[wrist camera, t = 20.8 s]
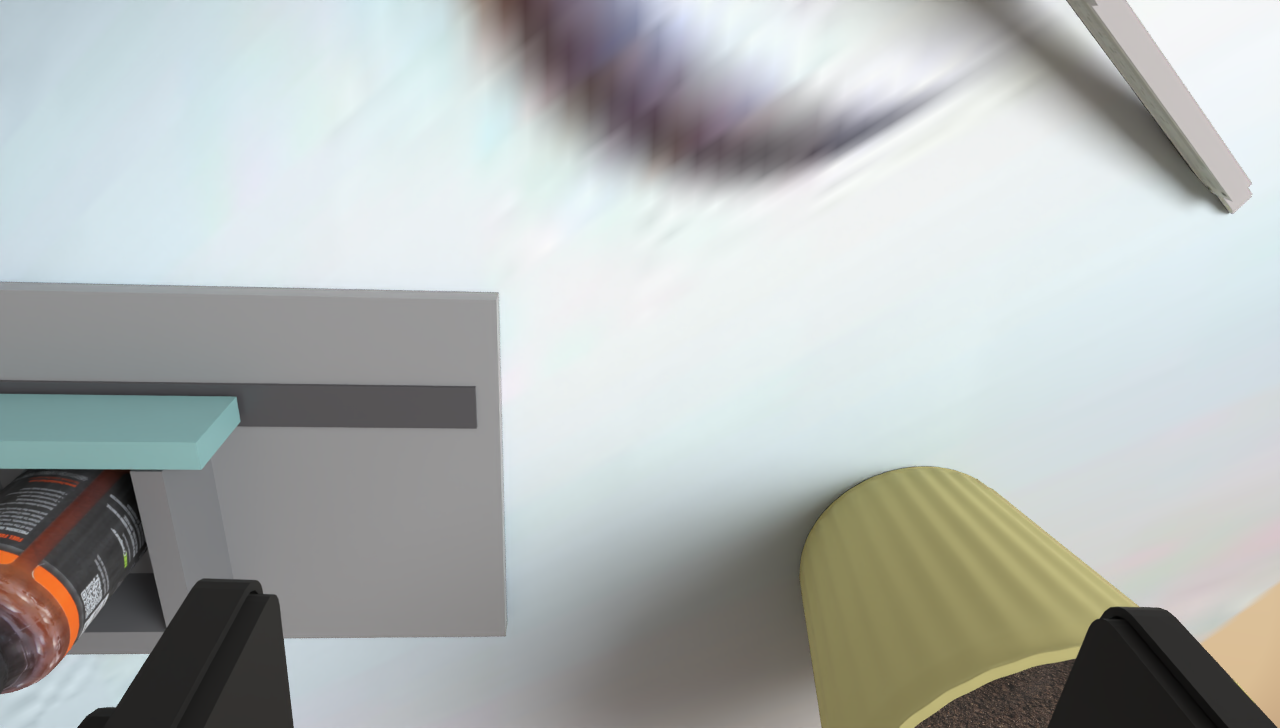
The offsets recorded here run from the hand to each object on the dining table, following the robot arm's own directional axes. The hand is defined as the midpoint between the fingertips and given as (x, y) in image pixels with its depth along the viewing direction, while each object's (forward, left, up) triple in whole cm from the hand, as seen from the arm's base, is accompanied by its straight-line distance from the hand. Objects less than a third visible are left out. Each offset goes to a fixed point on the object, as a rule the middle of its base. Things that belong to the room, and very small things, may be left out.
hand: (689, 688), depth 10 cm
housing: (+13, -18, -27) cm, 35 cm away
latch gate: (+9, -22, -26) cm, 35 cm away
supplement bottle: (+14, -23, -26) cm, 38 cm away
